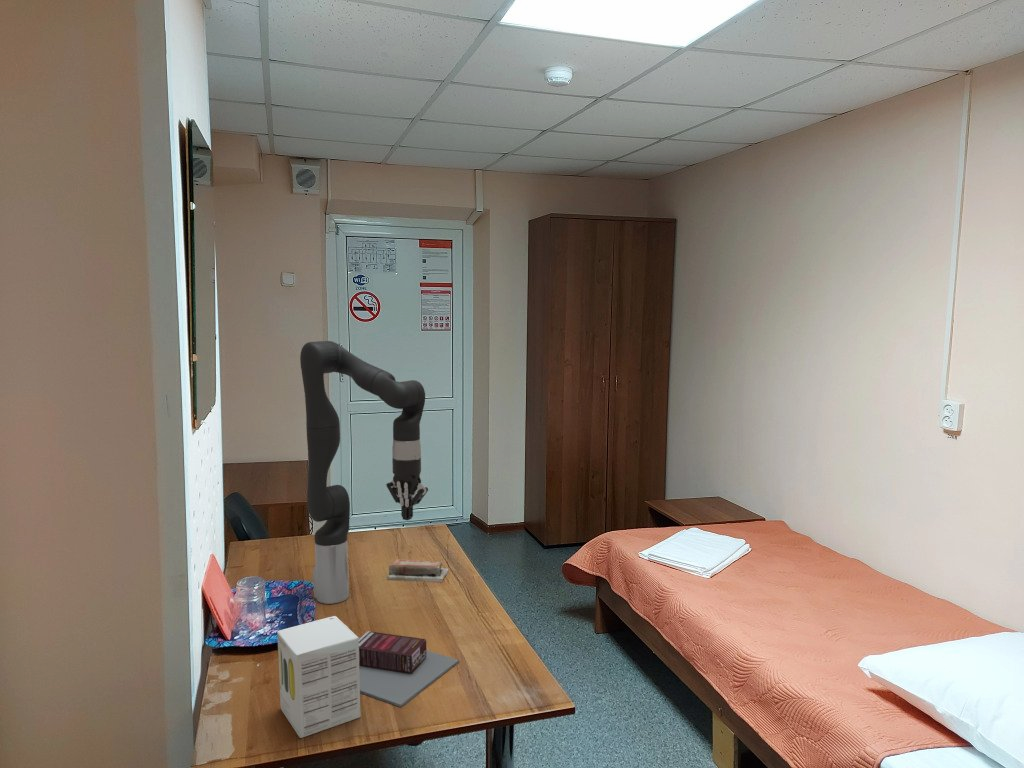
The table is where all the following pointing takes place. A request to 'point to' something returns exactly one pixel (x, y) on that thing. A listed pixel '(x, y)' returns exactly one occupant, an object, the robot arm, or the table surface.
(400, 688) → the mat
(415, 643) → the supplement box
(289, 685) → the supplement box
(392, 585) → the table surface
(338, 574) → the robot arm
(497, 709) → the table surface
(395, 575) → the packaged product
